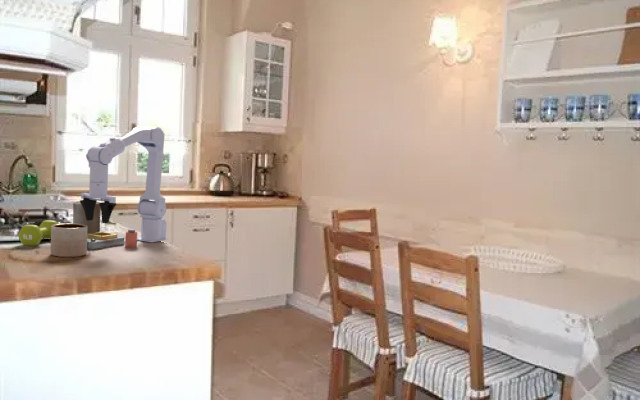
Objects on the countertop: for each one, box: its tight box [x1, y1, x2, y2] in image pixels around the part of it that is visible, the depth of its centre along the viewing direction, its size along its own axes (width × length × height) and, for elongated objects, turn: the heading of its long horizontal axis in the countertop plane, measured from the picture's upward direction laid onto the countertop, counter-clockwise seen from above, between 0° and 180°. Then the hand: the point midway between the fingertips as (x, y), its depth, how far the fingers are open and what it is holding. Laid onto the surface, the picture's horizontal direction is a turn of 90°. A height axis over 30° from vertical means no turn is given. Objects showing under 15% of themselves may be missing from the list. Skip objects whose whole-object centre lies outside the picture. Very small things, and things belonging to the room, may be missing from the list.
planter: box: [50, 222, 88, 258], centre depth 179 cm, size 11×11×10 cm
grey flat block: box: [87, 231, 125, 251], centre depth 197 cm, size 18×11×4 cm, turn 156°
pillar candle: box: [72, 200, 101, 234], centre depth 210 cm, size 10×10×15 cm
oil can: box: [124, 228, 138, 249], centre depth 199 cm, size 4×4×6 cm
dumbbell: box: [17, 219, 59, 247], centre depth 196 cm, size 16×8×7 cm, turn 178°
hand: (97, 221), depth 188 cm, fingers open, 7 cm apart
